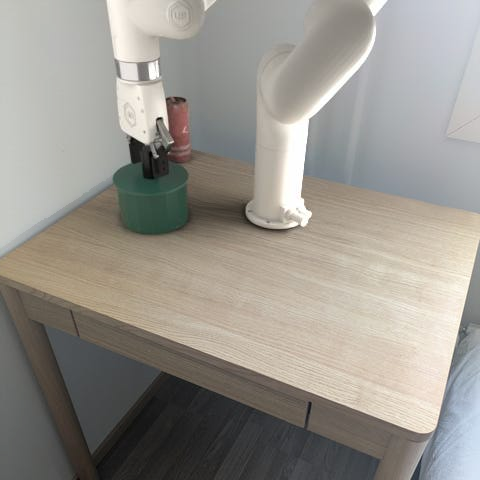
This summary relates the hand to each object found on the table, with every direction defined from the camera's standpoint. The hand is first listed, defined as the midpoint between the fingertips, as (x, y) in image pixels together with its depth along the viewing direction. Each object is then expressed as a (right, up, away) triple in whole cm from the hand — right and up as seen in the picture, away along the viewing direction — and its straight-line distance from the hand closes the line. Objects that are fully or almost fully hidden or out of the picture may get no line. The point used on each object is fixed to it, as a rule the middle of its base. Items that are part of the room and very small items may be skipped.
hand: (149, 168), depth 95 cm
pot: (0, -8, +7) cm, 11 cm away
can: (+2, +11, +28) cm, 30 cm away
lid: (0, -2, +1) cm, 2 cm away
